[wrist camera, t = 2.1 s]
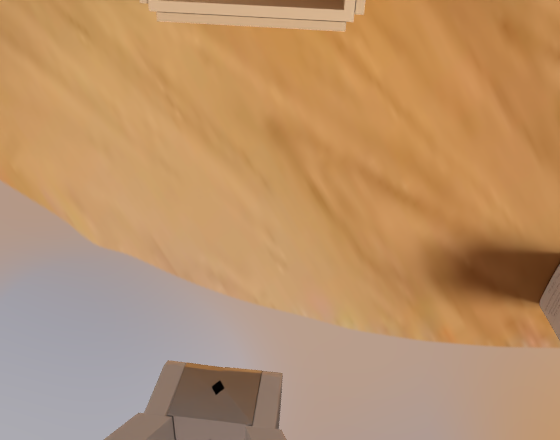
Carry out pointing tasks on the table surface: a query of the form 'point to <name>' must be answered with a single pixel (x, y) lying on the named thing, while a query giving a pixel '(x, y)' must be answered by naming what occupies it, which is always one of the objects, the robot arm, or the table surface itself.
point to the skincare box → (552, 302)
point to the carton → (261, 12)
